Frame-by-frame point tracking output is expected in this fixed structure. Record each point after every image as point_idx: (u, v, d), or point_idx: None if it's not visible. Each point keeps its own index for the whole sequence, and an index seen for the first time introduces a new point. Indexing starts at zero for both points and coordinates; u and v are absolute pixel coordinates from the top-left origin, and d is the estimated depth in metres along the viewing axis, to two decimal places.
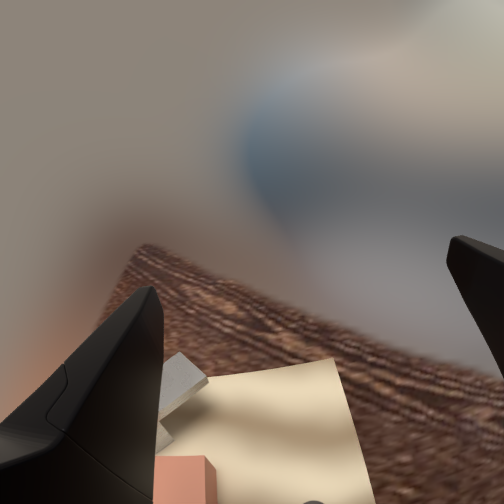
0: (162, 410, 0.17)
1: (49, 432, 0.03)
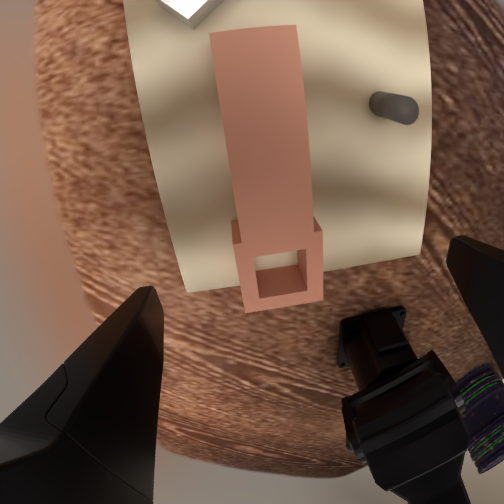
0: None
1: (49, 433, 0.03)
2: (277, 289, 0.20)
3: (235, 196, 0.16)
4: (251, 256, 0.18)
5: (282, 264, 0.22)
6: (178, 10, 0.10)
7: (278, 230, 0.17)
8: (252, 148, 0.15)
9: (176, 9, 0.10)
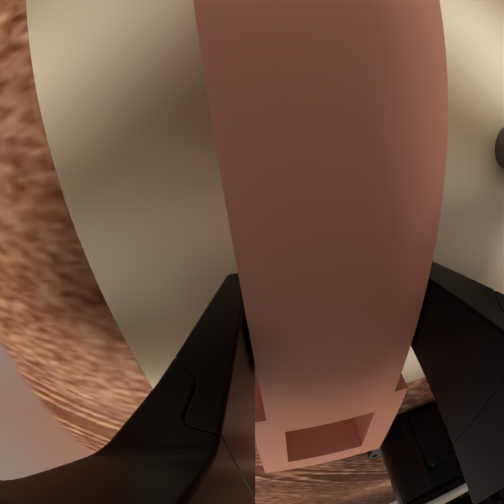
0: None
1: (199, 439, 0.04)
2: (315, 444, 0.11)
3: (258, 366, 0.07)
4: (282, 431, 0.09)
5: None
6: None
7: (335, 400, 0.08)
8: (305, 277, 0.06)
9: None
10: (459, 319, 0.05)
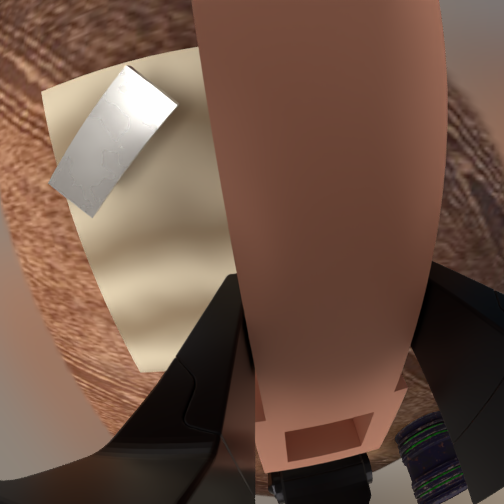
0: (127, 167, 0.13)
1: (199, 439, 0.04)
2: (314, 444, 0.11)
3: (257, 366, 0.07)
4: (281, 431, 0.09)
5: None
6: (83, 210, 0.14)
7: (335, 400, 0.08)
8: (304, 276, 0.06)
9: (82, 208, 0.14)
10: (459, 319, 0.05)
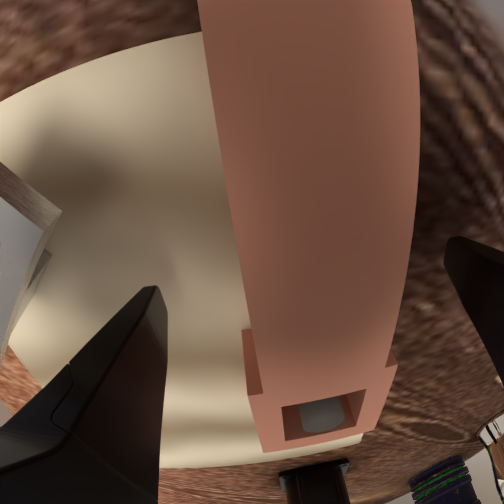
0: (5, 335, 0.06)
1: (55, 434, 0.03)
2: None
3: (255, 335, 0.08)
4: (278, 406, 0.10)
5: (204, 461, 0.18)
6: None
7: (328, 374, 0.09)
8: (295, 248, 0.07)
9: None
10: None
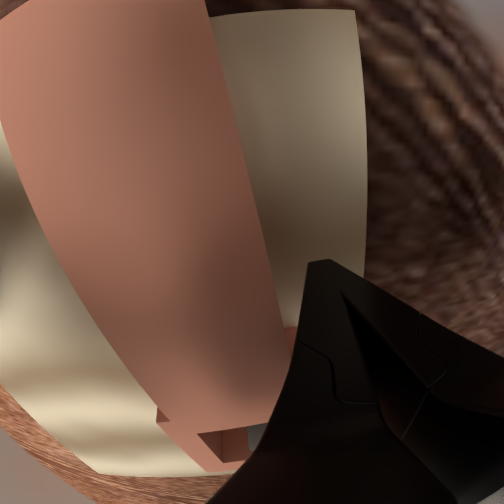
0: None
1: (362, 413, 0.04)
2: None
3: (130, 369, 0.07)
4: (193, 433, 0.09)
5: (176, 471, 0.18)
6: None
7: (230, 405, 0.08)
8: (128, 289, 0.06)
9: None
10: (370, 345, 0.05)
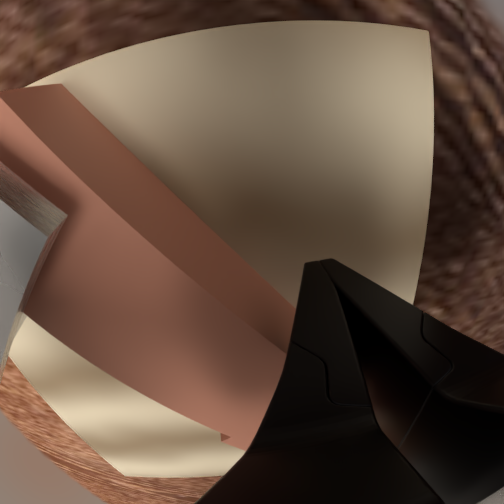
0: (5, 349, 0.05)
1: (356, 414, 0.04)
2: None
3: (170, 407, 0.08)
4: None
5: (208, 471, 0.18)
6: None
7: None
8: (126, 352, 0.07)
9: None
10: (374, 344, 0.05)
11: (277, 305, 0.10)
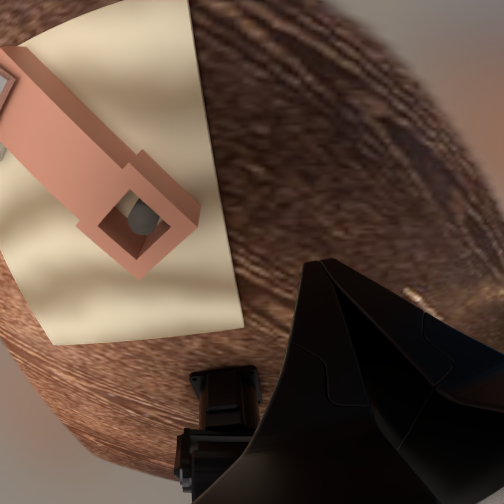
0: None
1: (354, 414, 0.04)
2: (151, 242, 0.18)
3: (46, 188, 0.15)
4: (95, 226, 0.16)
5: (110, 332, 0.24)
6: None
7: (94, 190, 0.15)
8: (29, 146, 0.13)
9: None
10: (375, 343, 0.05)
11: (107, 134, 0.16)
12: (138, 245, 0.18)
